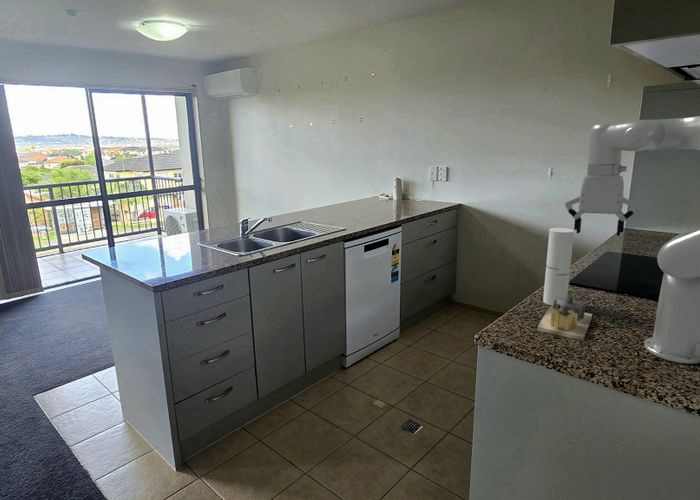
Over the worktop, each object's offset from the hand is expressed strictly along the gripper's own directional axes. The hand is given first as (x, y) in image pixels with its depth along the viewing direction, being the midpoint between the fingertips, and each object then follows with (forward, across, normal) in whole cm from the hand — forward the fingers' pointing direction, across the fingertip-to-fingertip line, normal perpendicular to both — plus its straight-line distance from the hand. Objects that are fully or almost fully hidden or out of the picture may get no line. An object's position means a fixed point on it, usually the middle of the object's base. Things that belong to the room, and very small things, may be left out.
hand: (597, 233), depth 118 cm
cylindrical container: (+28, +12, -17) cm, 35 cm away
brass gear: (+27, +6, +5) cm, 28 cm away
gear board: (+28, +6, 0) cm, 29 cm away
